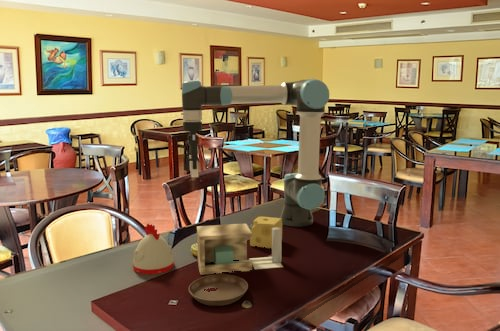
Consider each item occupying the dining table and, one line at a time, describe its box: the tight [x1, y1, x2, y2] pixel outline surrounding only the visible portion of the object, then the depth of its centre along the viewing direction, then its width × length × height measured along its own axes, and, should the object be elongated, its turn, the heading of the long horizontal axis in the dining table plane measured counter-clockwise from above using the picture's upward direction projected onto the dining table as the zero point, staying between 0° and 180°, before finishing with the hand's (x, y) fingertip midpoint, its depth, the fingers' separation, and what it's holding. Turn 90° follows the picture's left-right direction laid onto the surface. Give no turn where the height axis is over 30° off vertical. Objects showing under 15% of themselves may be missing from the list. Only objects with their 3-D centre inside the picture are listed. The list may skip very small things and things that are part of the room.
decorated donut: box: [190, 242, 198, 258], centre depth 171 cm, size 10×11×4 cm
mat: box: [248, 256, 284, 270], centre depth 161 cm, size 10×10×1 cm
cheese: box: [249, 215, 283, 250], centre depth 181 cm, size 10×11×10 cm
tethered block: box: [213, 227, 283, 265], centre depth 159 cm, size 24×6×12 cm, turn 101°
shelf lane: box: [196, 223, 253, 276], centre depth 157 cm, size 18×12×13 cm, turn 101°
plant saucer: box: [188, 273, 249, 307], centre depth 136 cm, size 18×18×3 cm
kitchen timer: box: [132, 223, 175, 275], centre depth 158 cm, size 14×14×15 cm
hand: (193, 174), depth 182 cm, fingers open, 13 cm apart
